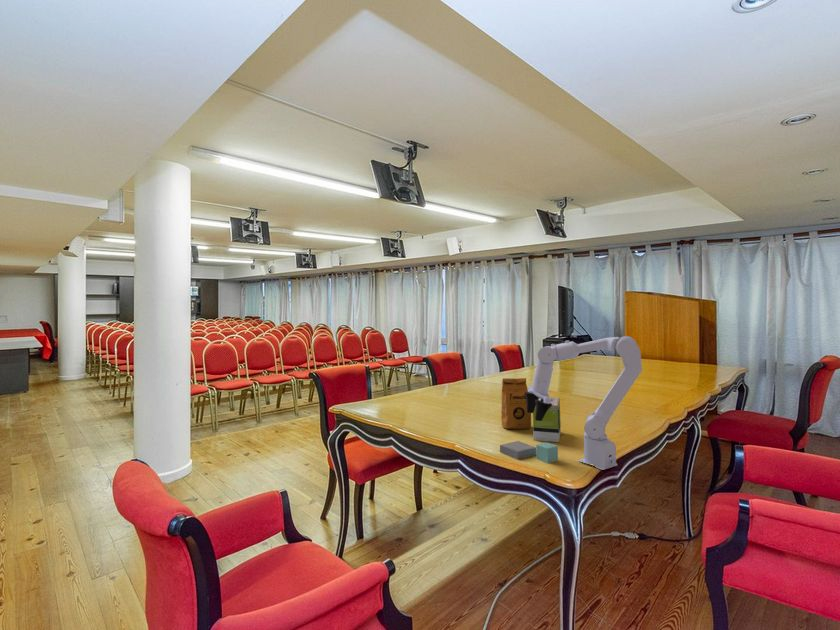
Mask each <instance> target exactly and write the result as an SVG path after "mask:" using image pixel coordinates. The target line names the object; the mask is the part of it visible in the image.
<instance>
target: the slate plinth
mask: <svg viewBox="0 0 840 630" xmlns="http://www.w3.org/2000/svg"><path fill="white" fill-rule="evenodd" d="M499 453H501V454H504V455H506V456H508V457H511V458H514V459H516V460H520V459H525V458H529V457H532V456H536V446H533V445H530V444H527V443H525V442H522V441H519V440H517V441H516V440H515V441H512V442H507V443H503V444H500V445H499Z"/></svg>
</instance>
